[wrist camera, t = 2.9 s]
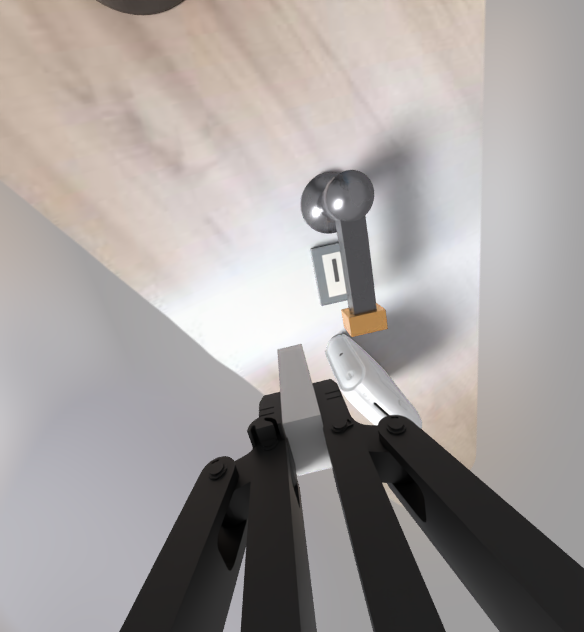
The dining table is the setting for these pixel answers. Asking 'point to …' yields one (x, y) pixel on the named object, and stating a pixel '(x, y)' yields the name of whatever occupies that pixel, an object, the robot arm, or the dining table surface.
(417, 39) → the dining table surface
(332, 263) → the label tile
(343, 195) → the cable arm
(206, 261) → the dining table surface
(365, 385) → the photo printer
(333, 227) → the round-base stand
